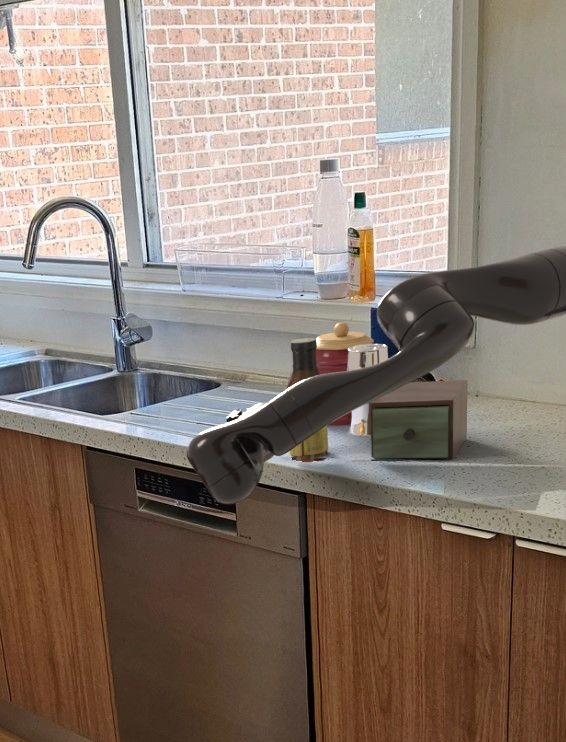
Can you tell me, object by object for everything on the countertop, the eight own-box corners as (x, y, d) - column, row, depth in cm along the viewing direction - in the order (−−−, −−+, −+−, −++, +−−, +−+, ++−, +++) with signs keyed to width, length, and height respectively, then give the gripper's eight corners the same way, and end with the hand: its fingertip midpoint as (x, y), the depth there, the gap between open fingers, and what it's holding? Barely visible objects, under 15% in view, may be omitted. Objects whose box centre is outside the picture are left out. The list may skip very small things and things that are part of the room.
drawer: (446, 459, 189) (446, 409, 186) (372, 460, 194) (370, 412, 191) (461, 435, 201) (461, 388, 198) (390, 437, 206) (389, 391, 203)
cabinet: (452, 460, 191) (453, 399, 187) (371, 462, 197) (370, 402, 193) (466, 437, 203) (467, 379, 199) (389, 439, 208) (388, 383, 204)
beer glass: (385, 438, 209) (387, 349, 203) (344, 439, 211) (344, 351, 205) (388, 429, 215) (390, 342, 209) (348, 430, 217) (348, 344, 211)
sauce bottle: (333, 457, 203) (332, 335, 195) (321, 467, 198) (320, 342, 190) (295, 456, 207) (293, 336, 198) (282, 465, 202) (280, 343, 194)
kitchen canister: (298, 416, 231) (297, 321, 224) (367, 409, 231) (368, 314, 224) (313, 431, 220) (312, 331, 212) (385, 424, 219) (387, 323, 212)
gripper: (305, 407, 172) (333, 382, 185) (209, 410, 179) (242, 386, 192) (308, 459, 175) (334, 431, 188) (213, 460, 182) (245, 433, 195)
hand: (288, 408), depth 190 cm, fingers open, 8 cm apart
